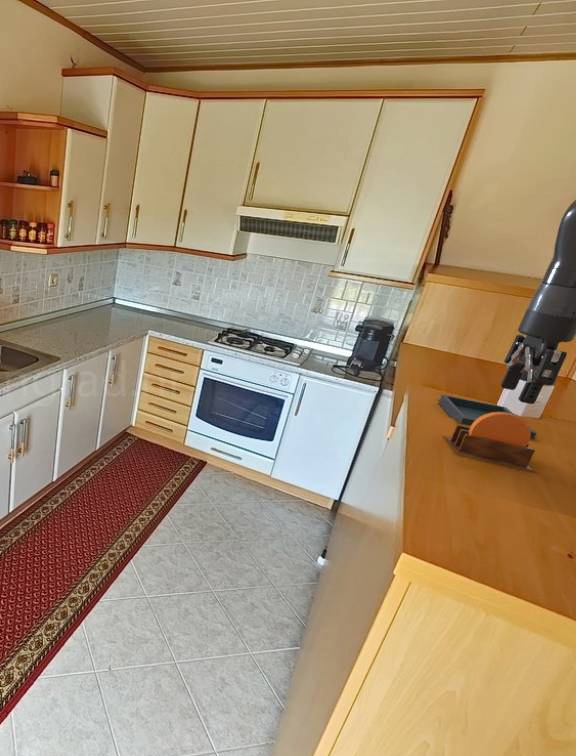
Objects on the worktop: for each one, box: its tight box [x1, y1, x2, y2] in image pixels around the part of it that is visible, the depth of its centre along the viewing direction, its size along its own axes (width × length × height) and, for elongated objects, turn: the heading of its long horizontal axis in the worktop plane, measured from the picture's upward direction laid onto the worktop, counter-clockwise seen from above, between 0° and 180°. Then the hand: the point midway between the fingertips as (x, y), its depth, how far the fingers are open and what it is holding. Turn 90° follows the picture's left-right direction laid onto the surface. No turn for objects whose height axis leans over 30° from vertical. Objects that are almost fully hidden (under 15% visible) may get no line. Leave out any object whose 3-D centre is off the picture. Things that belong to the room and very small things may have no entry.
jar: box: [496, 370, 559, 419], centre depth 124 cm, size 9×8×12 cm
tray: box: [438, 394, 538, 440], centre depth 117 cm, size 14×18×3 cm
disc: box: [469, 412, 531, 447], centre depth 95 cm, size 9×2×9 cm, turn 66°
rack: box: [445, 424, 536, 471], centre depth 98 cm, size 12×9×5 cm
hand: (515, 395), depth 92 cm, fingers open, 8 cm apart
